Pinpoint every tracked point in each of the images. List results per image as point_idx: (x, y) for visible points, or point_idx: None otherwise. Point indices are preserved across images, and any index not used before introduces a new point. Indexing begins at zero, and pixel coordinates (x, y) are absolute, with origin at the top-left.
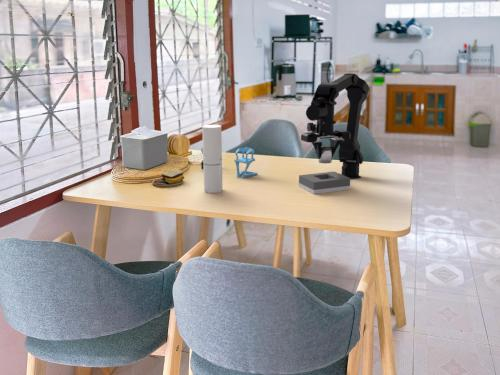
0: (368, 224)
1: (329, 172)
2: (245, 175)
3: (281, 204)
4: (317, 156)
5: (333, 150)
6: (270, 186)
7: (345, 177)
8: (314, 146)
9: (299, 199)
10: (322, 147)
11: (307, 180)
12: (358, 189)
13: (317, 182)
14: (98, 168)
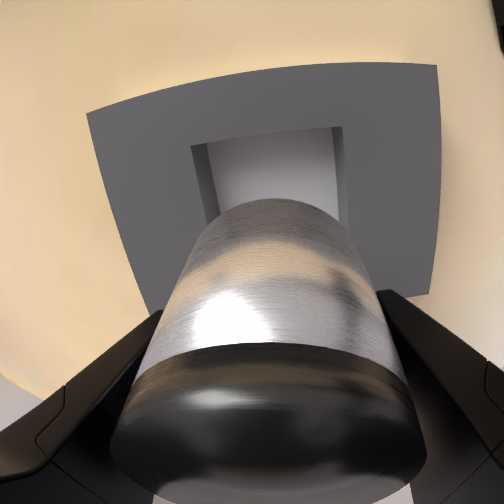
0: None
1: (384, 77)
2: None
3: (50, 346)
4: (142, 326)
5: None
6: (2, 95)
7: (414, 269)
8: (24, 441)
9: (102, 325)
10: (176, 497)
11: (126, 242)
12: (441, 264)
13: None
14: None
